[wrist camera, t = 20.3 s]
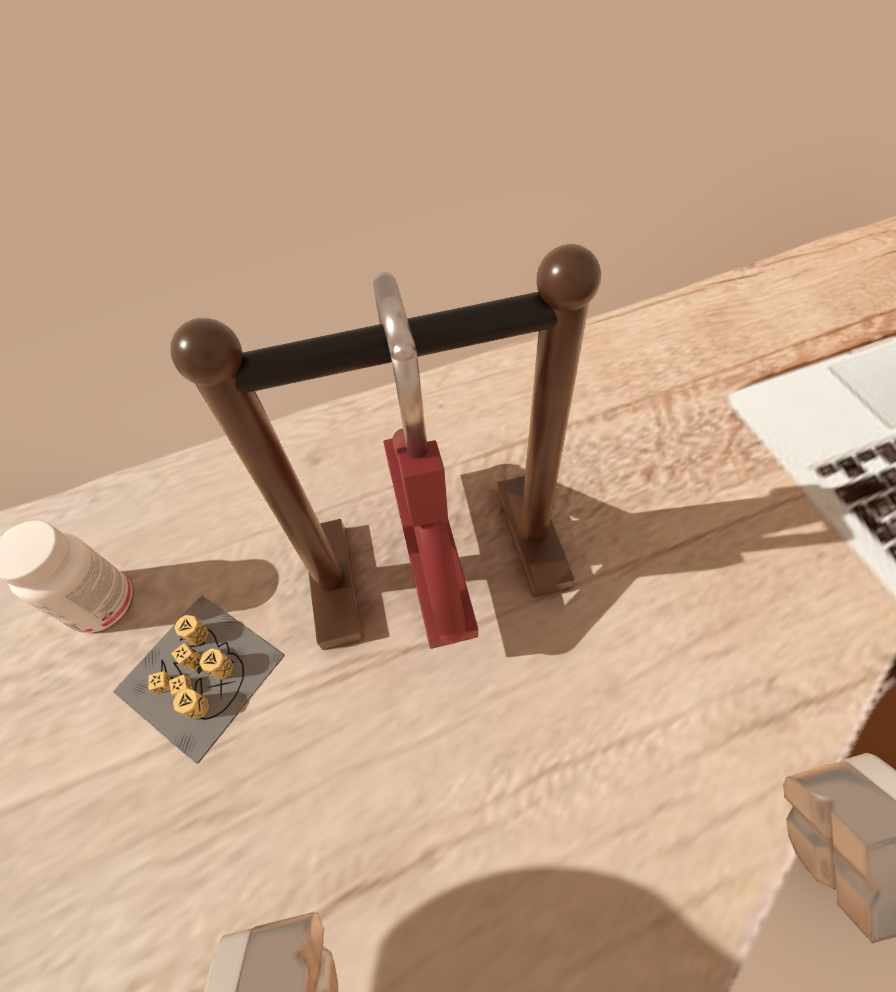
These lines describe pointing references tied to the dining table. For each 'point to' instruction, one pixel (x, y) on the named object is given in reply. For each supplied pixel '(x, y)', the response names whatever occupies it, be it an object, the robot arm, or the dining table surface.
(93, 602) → the pill bottle
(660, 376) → the dining table surface
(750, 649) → the dining table surface
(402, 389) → the hanger
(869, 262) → the dining table surface
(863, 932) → the robot arm
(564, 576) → the rail
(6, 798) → the dining table surface
